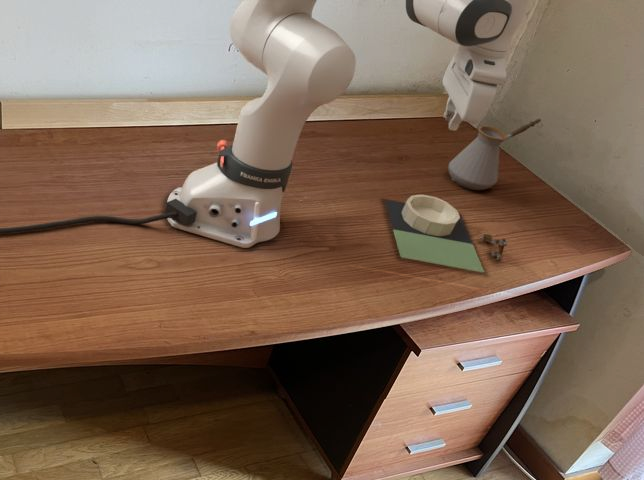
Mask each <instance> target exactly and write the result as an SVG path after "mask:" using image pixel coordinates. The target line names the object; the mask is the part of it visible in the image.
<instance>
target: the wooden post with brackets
mask: <svg viewBox="0 0 644 480" xmlns="http://www.w3.org/2000/svg"><path fill="white" fill-rule="evenodd" d="M481 242H485V243H490V244H494V245H497V246H498V251H496V250H491V252H490V254H491V256H492V257H493V258H496V262H501V260H502V258H503V252H504V249H505V247H507V245H508V241H507V240H506V239H505V238H501V239H498V238H494V237H493V235H492V234H491V233H483V234H482V236H481Z"/></svg>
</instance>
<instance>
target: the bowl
mask: <svg viewBox="0 0 644 480" xmlns="http://www.w3.org/2000/svg"><path fill="white" fill-rule="evenodd" d="M404 203H405V206H404V208H403V210H402V216H403V219H404V221H405V222H406V223H408V224H409V225H410V226H411V227H412V228H414V229H416V230H418V231H421V232H423V233H426V234H429V235H435V236H445V235H450V234H451V233H452V232H453V230H454V229H455V227H456V225H457V223H458V221H459V219H460V216H459V214H458V213H459V212H458V209H456V208H455V207H454V206H453V205H451V204H450V203H449V202H448V201H445V200H443V199H441V198H438V197H436V196H432V195H427V194H415V195H414V194H413V195H410V197H408V198H407V200H406V201H405V202H404Z"/></svg>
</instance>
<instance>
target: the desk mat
mask: <svg viewBox="0 0 644 480" xmlns="http://www.w3.org/2000/svg"><path fill="white" fill-rule="evenodd" d="M384 202H385V205H386V206H385V207H386V210H387V214H388V217H389V221H390V224H391V225H390V226H391V228H392V232H393V236H394V238H395V242H396V246H397V249H398V253H399V257H400V258H401V259H402V258H403V259H409V260H412V261H419V262H423V263H428V264H429V263H430V264H435V265H441V266H446V267H451V268H456V269H463V270H468V271H473V272H478V273H485V270H484V267H483V265H482V263H481V261H480V258H479V256H478V254H477V251H476V249H475V246H474V244H473V241H472V238H471V236H470V234H469V232H468V230H467V227H466V225H465V222H464V219H463V217H462V215H461V213H459V212H458V214H459V216H460V219H459V221H458V223H457V225H456V227H455V229H454V230H453V232H452V233H451V234H450V235H445V236H435V235H429V234H426V233H423V232H421V231H418V230H416V229H414V228H412V227H411V226H410V225H409V224H408V223H406V222H405V221H404V219H403V216H402V210H403V208H404V206H405V203H406V202H400V201H396V200H391V199H384Z"/></svg>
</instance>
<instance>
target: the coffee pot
mask: <svg viewBox="0 0 644 480" xmlns="http://www.w3.org/2000/svg"><path fill="white" fill-rule="evenodd" d="M539 123H541V126H539V125H538V124H539ZM543 125H544V123H543V121H542V119H541V118H537V119H534V121H531V120H530V122H529V123H527V124H524V125H522V126H520V127H518V128H516V130H513V131H512V132H510V133H509V134H506V133H505V132H503V131H502V130H501V129H498V128H496V127H493V126H489V125H481V126H478V127H477V132H478V133H477V137H476V138H474V140H473V141H471V142H470V143H469V144H468V145H467V146H466V147H465V148H464V149H462V151H461V152H459V153H458V154H457V155H456V156H455V157H454V158H452V160H451V161H450V162H449V163H448V173H449V176H450V177H451V181H453V182H455V183H456V184H457V185H459V186H461V187H463V188H465V189H467V190H471V191H483V190H487V189H488V190H489V189H490V188H492V187H493V186H495V185H496V184H497V182H498V180H499V165H500V162H499V161H500V145H501V144H502V143H503V142H505V141H507V140H509V139H510V138H512V137H515V136H517V135H519V134H521V133H524V132H525V131H527V130H528V129H530V128H531V127H532V128H533V127H534V126H536V127H537V128H542V127H543Z"/></svg>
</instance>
